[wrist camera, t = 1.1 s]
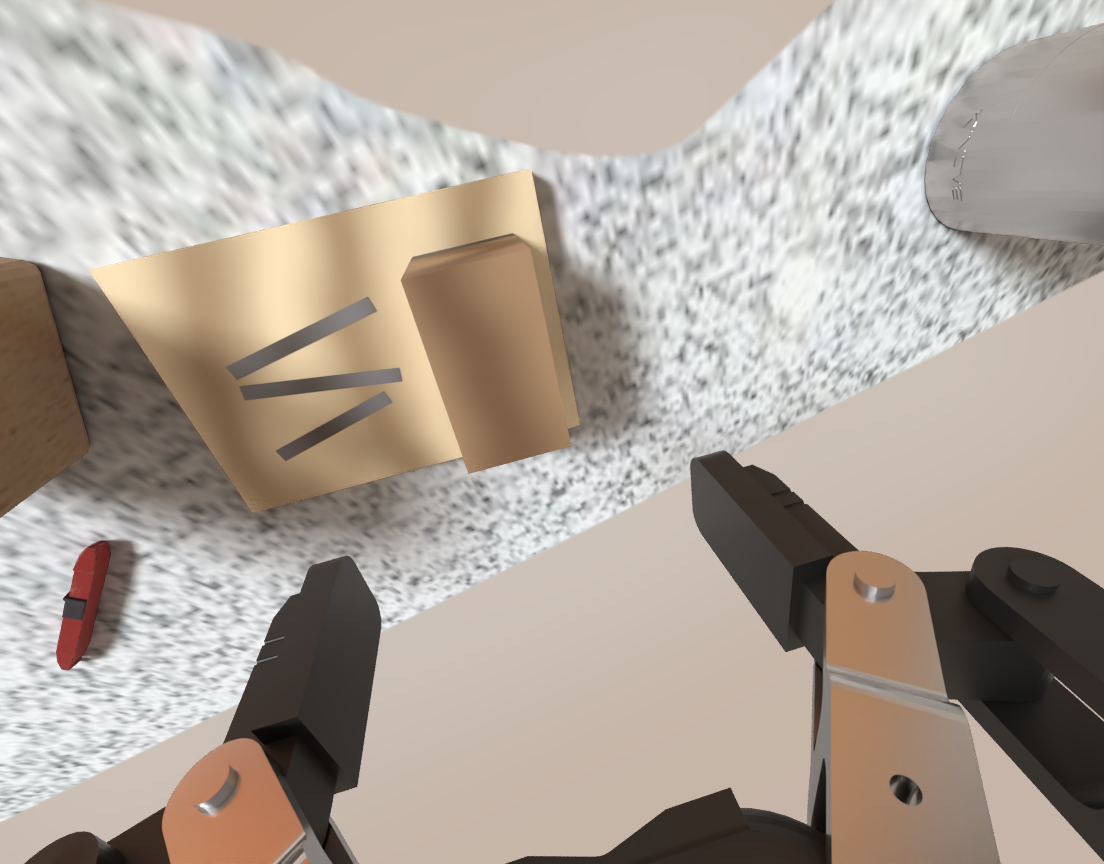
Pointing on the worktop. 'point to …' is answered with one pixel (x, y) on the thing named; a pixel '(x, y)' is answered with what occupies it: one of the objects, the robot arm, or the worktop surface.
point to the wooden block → (33, 389)
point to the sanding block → (489, 349)
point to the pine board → (320, 337)
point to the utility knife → (82, 604)
